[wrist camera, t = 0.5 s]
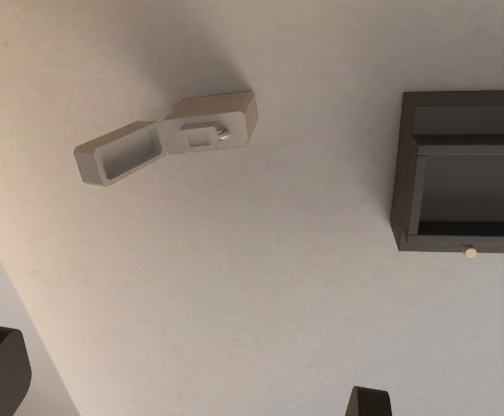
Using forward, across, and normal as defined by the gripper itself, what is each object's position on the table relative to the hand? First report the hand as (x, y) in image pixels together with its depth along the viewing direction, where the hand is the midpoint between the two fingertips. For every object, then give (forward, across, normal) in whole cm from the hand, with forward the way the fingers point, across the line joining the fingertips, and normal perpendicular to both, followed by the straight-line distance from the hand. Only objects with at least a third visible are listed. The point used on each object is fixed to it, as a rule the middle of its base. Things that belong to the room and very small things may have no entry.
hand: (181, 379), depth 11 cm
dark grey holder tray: (+18, -12, +1) cm, 22 cm away
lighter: (+18, +4, 0) cm, 18 cm away
